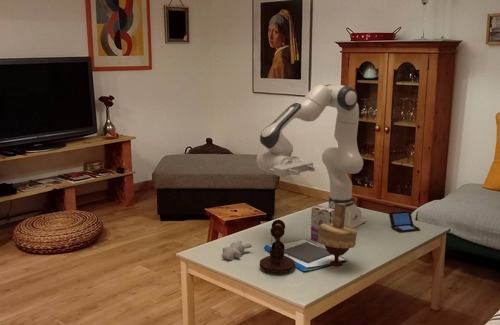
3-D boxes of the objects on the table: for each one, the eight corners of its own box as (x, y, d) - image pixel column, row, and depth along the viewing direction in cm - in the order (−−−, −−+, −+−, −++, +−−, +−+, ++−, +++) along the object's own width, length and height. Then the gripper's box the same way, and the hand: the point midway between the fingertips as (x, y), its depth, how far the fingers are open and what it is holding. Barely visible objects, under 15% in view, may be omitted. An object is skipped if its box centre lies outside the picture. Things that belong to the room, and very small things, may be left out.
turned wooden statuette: (261, 260, 234) (261, 216, 229) (295, 262, 232) (296, 217, 228) (258, 274, 219) (258, 227, 215) (294, 276, 218) (295, 229, 214)
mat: (306, 242, 255) (306, 241, 254) (334, 253, 242) (334, 252, 242) (280, 251, 244) (280, 250, 244) (307, 263, 231) (307, 262, 231)
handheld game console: (398, 233, 268) (399, 219, 267) (387, 226, 279) (388, 212, 277) (421, 231, 272) (422, 217, 270) (409, 224, 282) (410, 210, 280)
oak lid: (334, 237, 238) (338, 199, 237) (362, 245, 227) (366, 206, 226) (310, 240, 228) (314, 201, 227) (339, 249, 217) (343, 208, 215)
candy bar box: (335, 243, 255) (337, 209, 251) (329, 245, 251) (331, 211, 248) (316, 237, 262) (317, 204, 259) (310, 239, 259) (311, 206, 255)
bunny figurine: (216, 249, 235) (236, 236, 247) (217, 260, 237) (237, 246, 248) (234, 254, 230) (253, 240, 242) (234, 265, 232) (254, 250, 243)
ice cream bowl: (349, 270, 224) (350, 235, 221) (322, 268, 226) (323, 233, 223) (350, 260, 234) (351, 227, 231) (324, 258, 236) (325, 225, 233)
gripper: (266, 162, 239) (289, 168, 229) (299, 155, 252) (321, 160, 242) (267, 176, 241) (289, 182, 230) (299, 169, 254) (321, 174, 243)
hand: (306, 171), depth 236 cm, fingers open, 8 cm apart
